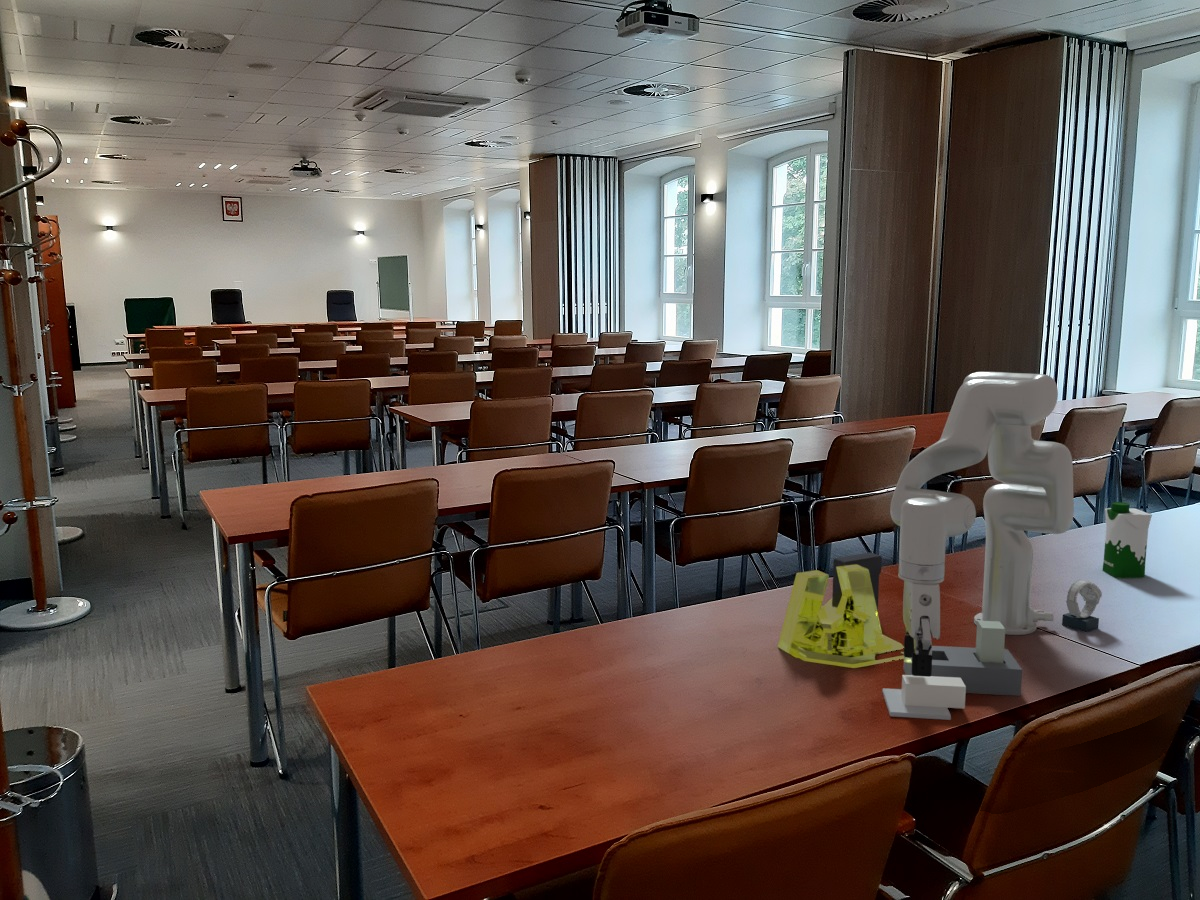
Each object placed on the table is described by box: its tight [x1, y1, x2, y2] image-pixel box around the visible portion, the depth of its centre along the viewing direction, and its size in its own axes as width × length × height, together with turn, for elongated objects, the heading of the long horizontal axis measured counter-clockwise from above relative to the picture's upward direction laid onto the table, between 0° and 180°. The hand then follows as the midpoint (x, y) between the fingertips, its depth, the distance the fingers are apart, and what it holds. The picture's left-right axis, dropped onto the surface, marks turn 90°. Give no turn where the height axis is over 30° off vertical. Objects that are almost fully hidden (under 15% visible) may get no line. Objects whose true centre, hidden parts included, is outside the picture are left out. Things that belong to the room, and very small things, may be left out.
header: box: [902, 645, 1023, 697], centre depth 172 cm, size 19×10×5 cm, turn 80°
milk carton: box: [1102, 501, 1153, 579], centre depth 233 cm, size 9×9×20 cm
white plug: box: [901, 674, 967, 710], centre depth 162 cm, size 4×4×10 cm
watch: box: [1061, 579, 1103, 633], centre depth 198 cm, size 6×8×11 cm
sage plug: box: [975, 621, 1006, 663], centre depth 171 cm, size 4×4×10 cm
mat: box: [882, 688, 952, 721], centre depth 162 cm, size 10×10×1 cm
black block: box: [831, 551, 883, 613], centre depth 205 cm, size 11×4×15 cm, turn 116°
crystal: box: [777, 564, 904, 669], centre depth 188 cm, size 18×25×16 cm
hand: (917, 665), depth 161 cm, fingers open, 7 cm apart
